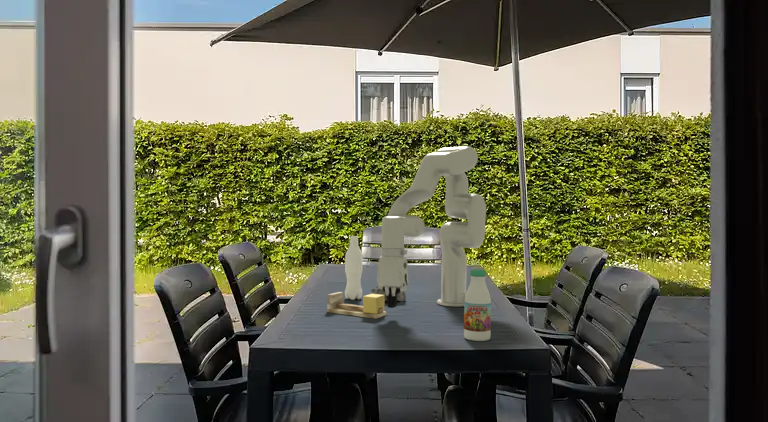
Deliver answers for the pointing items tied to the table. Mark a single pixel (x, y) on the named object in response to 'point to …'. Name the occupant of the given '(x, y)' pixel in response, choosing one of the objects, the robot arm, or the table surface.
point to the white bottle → (353, 270)
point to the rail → (356, 313)
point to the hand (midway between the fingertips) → (391, 307)
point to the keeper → (373, 303)
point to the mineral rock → (376, 290)
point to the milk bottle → (477, 308)
